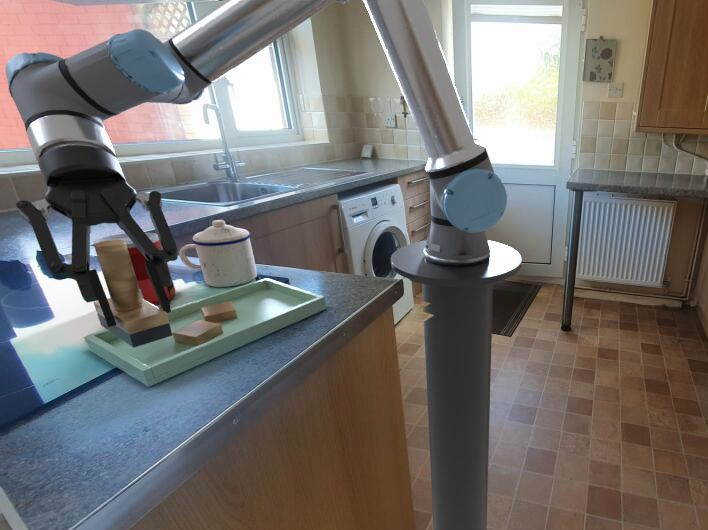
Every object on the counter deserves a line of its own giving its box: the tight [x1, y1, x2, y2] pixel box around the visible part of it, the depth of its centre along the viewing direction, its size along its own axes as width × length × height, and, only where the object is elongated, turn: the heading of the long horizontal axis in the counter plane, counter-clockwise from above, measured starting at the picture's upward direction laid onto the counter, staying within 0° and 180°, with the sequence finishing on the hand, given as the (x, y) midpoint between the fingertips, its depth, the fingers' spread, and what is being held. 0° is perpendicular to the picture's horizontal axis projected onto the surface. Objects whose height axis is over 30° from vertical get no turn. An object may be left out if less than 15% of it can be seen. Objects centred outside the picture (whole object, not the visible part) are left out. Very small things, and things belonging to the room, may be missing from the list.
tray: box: [83, 277, 327, 388], centre depth 62 cm, size 26×16×2 cm, turn 152°
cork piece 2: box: [201, 301, 238, 323], centre depth 64 cm, size 4×4×2 cm
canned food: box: [93, 231, 176, 306], centre depth 68 cm, size 8×8×11 cm
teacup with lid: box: [178, 219, 258, 288], centre depth 77 cm, size 12×9×12 cm
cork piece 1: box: [172, 320, 223, 346], centre depth 58 cm, size 4×4×2 cm
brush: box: [93, 240, 172, 348], centre depth 51 cm, size 4×10×12 cm, turn 59°
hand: (139, 314), depth 50 cm, fingers closed on brush, 5 cm apart
